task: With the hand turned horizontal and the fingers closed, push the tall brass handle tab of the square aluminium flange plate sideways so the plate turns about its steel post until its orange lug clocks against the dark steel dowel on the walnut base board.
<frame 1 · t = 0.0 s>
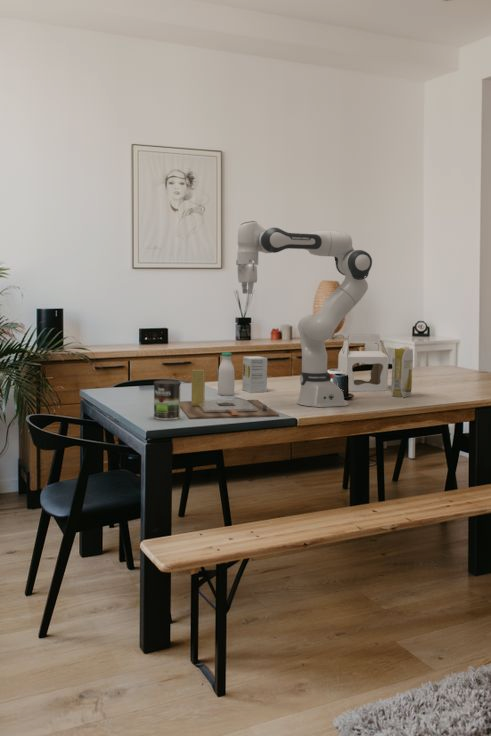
hand: (247, 293, 292), 48 cm above the table, tool pointing down, fingers open, 8 cm apart
supplement box: (254, 391, 340), on the table
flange: (224, 390, 283), point 9 cm above the table, hinge at 0.0°
milk bottle: (226, 395, 327), on the table
juice carton: (401, 396, 330), on the table
base board: (225, 409, 288), on the table
gable box: (362, 389, 351), on the table
coffee can: (167, 418, 268), on the table
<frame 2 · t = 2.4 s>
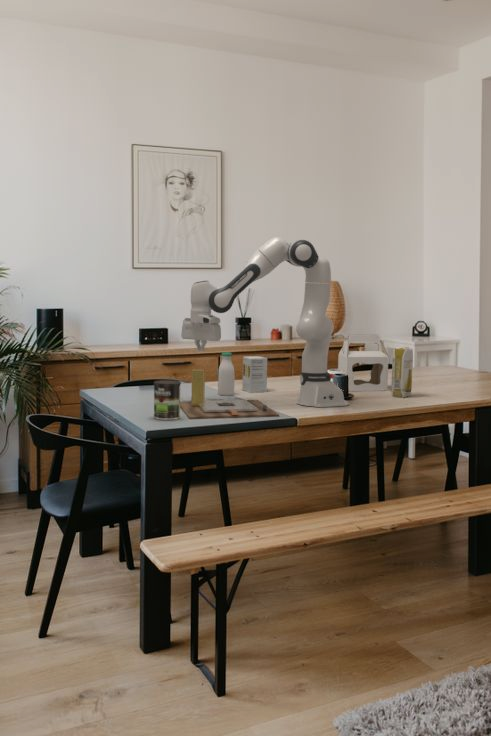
hand: (200, 350, 300), 23 cm above the table, tool pointing down, fingers closed
nothing on the table moved.
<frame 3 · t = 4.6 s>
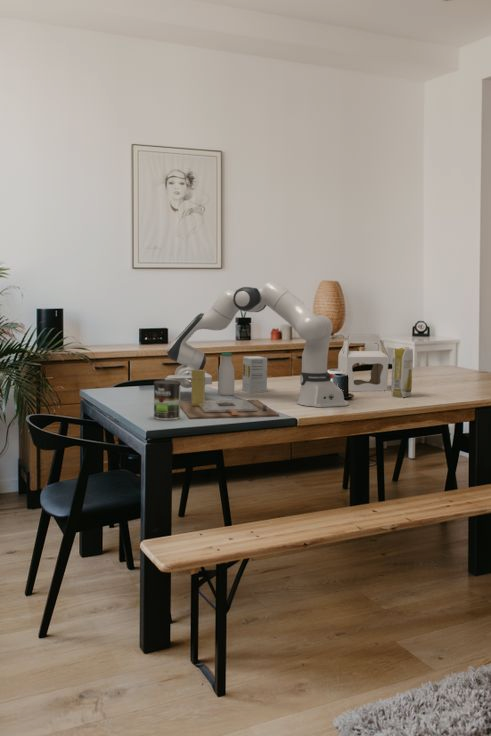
hand: (191, 382, 302), 9 cm above the table, tool horizontal, fingers closed
nothing on the table moved.
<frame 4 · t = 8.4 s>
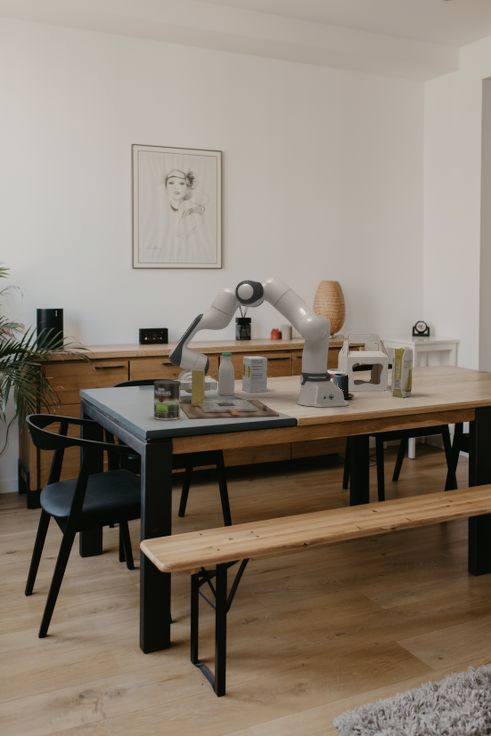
hand: (196, 387, 291), 8 cm above the table, tool horizontal, fingers closed
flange: (224, 390, 283), point 9 cm above the table, hinge at 0.4°, touching gripper
everything else where it was.
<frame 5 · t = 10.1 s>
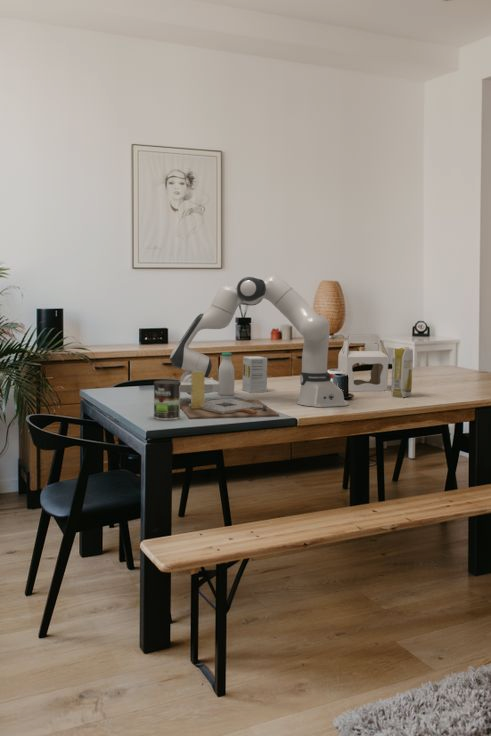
hand: (198, 389, 285), 8 cm above the table, tool horizontal, fingers closed
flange: (229, 390, 283), point 9 cm above the table, hinge at 28.9°, touching gripper
everything else where it was.
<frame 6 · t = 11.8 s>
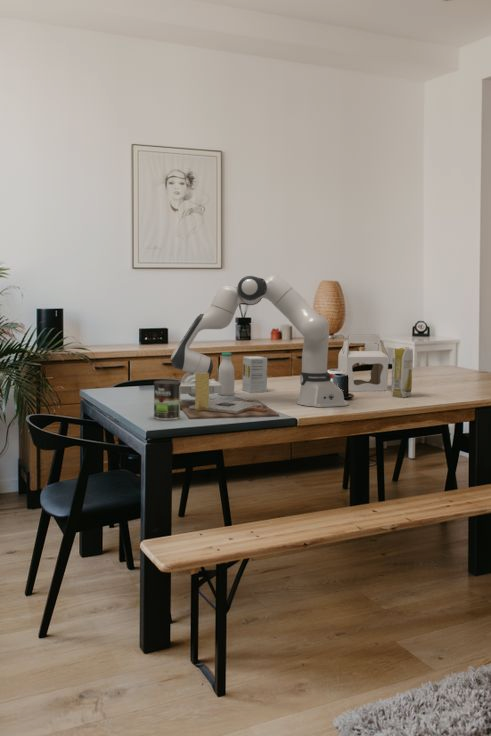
hand: (199, 391, 281), 8 cm above the table, tool horizontal, fingers closed
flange: (232, 390, 284), point 9 cm above the table, hinge at 50.0°, touching base board, gripper
everything else where it was.
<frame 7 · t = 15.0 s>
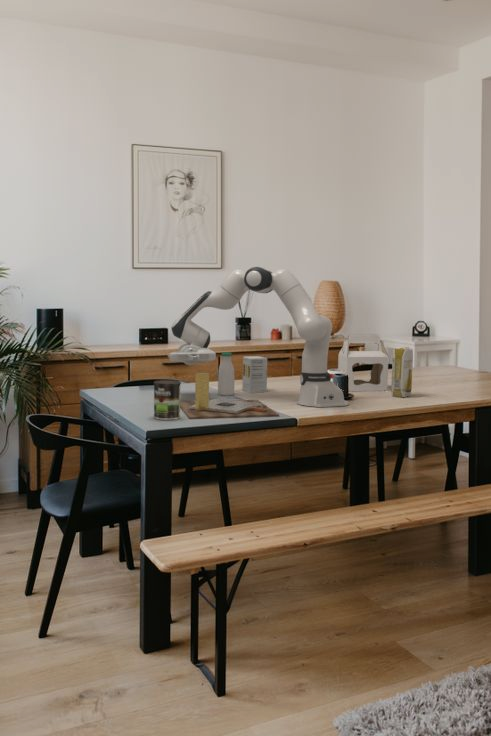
hand: (195, 358, 296), 20 cm above the table, tool horizontal, fingers closed
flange: (232, 390, 284), point 9 cm above the table, hinge at 50.0°, touching base board
everything else where it was.
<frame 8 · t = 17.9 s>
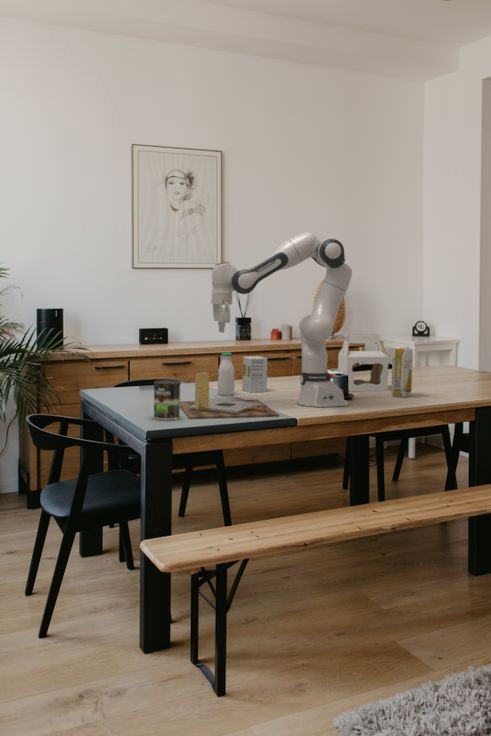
hand: (221, 332, 300), 31 cm above the table, tool pointing down, fingers closed
nothing on the table moved.
at the end: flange at +50° (first picture: +0°); the gripper is holding nothing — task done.
